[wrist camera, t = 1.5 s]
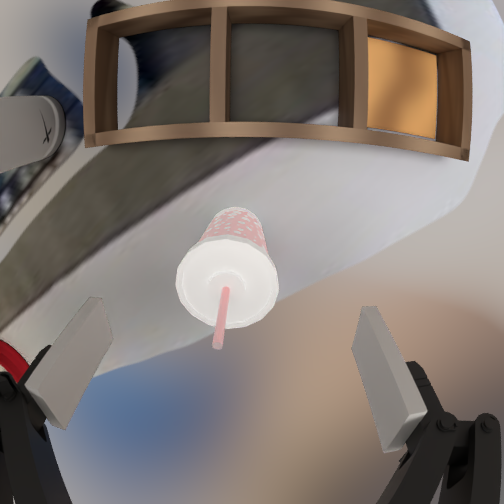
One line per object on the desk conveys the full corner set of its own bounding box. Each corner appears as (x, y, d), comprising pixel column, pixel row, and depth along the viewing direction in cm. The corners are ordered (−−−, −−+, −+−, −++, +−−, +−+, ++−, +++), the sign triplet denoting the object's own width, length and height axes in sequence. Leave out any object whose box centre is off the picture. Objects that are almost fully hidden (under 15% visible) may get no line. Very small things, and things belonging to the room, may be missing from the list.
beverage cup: (234, 277, 28) (220, 403, 15) (185, 231, 26) (126, 337, 13) (286, 234, 26) (313, 348, 13) (236, 182, 24) (214, 257, 11)
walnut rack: (108, 142, 22) (84, 148, 19) (109, 30, 18) (87, 19, 14) (446, 154, 22) (471, 162, 19) (448, 49, 18) (473, 43, 14)
